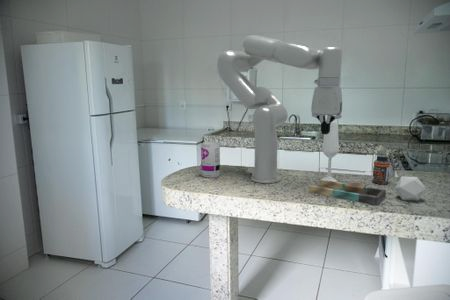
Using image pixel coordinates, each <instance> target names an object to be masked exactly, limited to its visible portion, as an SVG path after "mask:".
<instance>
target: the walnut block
mask: <svg viewBox="0 0 450 300" xmlns="http://www.w3.org/2000/svg"><path fill="white" fill-rule="evenodd" d="M365 187H367V186H366V183H360V182H351V181H348V182H347V183H346V185H345V191H346V192H352V193H357V194H363V195H366V194H365Z"/></svg>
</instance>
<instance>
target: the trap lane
mask: <svg viewBox="0 0 450 300" xmlns="http://www.w3.org/2000/svg"><path fill="white" fill-rule="evenodd" d="M322 179H323V178H321V179H319V181H318V182H319V184H318V185H319V186H318V185H317V186H316V185H312V184H310V185H308V193H310V194H311V193H312V194H316V195H321V196H326V197H331V198H335V199H341V200H347V201H352V202H358V203H362V204H367V205H372V206H379V204H380V203H381V202H382V201H383V200H384V199H385V198H386V196H387V195H386V193H387V189H382V188H375V187H370V186H366V187H365V195H363V194H357V193H352V192H346V191H345V185H346V184H347V183H345V182H339V181H337V182H334V181H328V180H322Z"/></svg>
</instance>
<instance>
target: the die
mask: <svg viewBox="0 0 450 300" xmlns="http://www.w3.org/2000/svg"><path fill="white" fill-rule="evenodd" d="M426 188H427V187H425V185H424V184H423V183H422V182H421V180H420V179H419V178H418V177H417V176H400V178H399V180H398V182H397V184H396V186H395V187H394V190H395V191H396V193H397V195H398V196H399V197H400V199H401V200H402V201H417V202H419V201H420V199H421V198H422V197H423V196H422V195H423V194H424V193H425V191H426V190H427V189H426Z"/></svg>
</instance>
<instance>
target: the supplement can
mask: <svg viewBox="0 0 450 300" xmlns="http://www.w3.org/2000/svg"><path fill="white" fill-rule="evenodd" d="M220 147H221V146H220V144H219V142H218V141H203V142H202V144H201V145H200V155H201V156H200V157H201V159H200V161H201V162H200V163H201V169H200V170H201V176H202V177H203V178H207V179H214V178H218V177H219V176H220V175H221V156H220V155H221V154H220V153H221V151H220Z"/></svg>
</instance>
